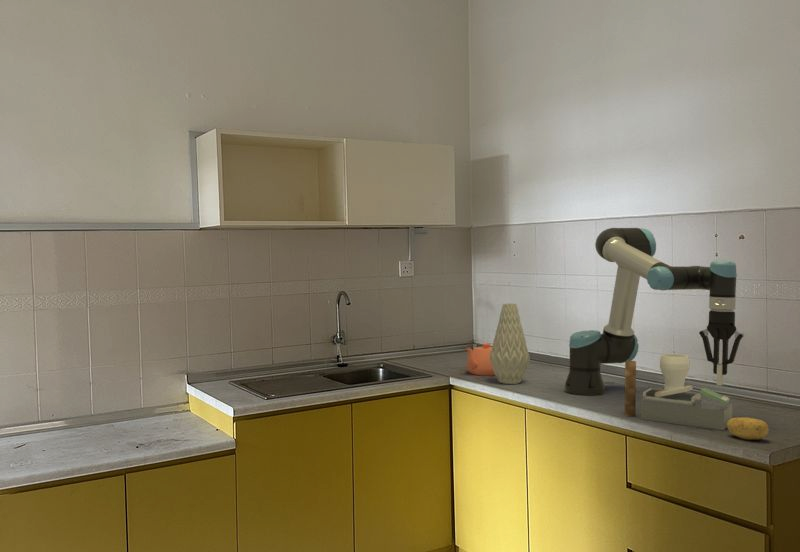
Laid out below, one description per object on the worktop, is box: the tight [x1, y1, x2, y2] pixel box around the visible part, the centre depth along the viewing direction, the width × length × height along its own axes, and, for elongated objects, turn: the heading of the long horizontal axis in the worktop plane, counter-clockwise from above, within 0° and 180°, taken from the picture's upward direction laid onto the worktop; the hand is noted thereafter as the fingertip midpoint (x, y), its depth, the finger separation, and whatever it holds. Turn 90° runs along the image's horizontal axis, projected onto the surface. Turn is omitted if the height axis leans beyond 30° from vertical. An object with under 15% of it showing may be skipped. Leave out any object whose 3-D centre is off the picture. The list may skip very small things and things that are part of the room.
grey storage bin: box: [640, 387, 733, 431], centre depth 229 cm, size 25×13×8 cm, turn 55°
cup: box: [659, 353, 691, 390], centre depth 270 cm, size 11×11×15 cm
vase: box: [489, 303, 531, 385], centre depth 295 cm, size 17×17×33 cm
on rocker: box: [699, 386, 731, 405], centre depth 224 cm, size 8×5×1 cm, turn 55°
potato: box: [726, 417, 770, 441], centre depth 206 cm, size 7×11×6 cm, turn 41°
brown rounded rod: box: [624, 360, 637, 417], centre depth 236 cm, size 3×3×18 cm
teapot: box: [465, 342, 496, 377], centre depth 318 cm, size 25×17×13 cm
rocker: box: [654, 384, 694, 397], centre depth 231 cm, size 11×4×1 cm, turn 55°
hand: (719, 384), depth 224 cm, fingers closed
